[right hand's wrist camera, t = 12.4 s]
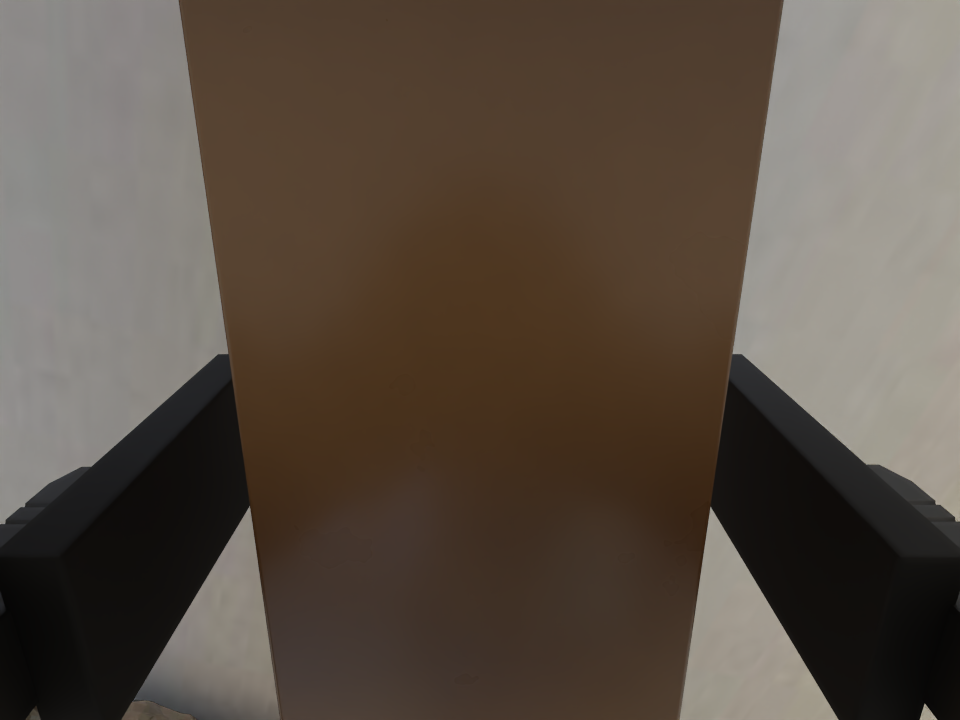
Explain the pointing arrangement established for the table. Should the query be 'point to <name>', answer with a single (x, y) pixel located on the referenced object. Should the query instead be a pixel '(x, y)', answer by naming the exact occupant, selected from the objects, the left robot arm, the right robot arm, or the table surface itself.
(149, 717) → the stone
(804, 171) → the table surface
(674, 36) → the bar
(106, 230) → the table surface
